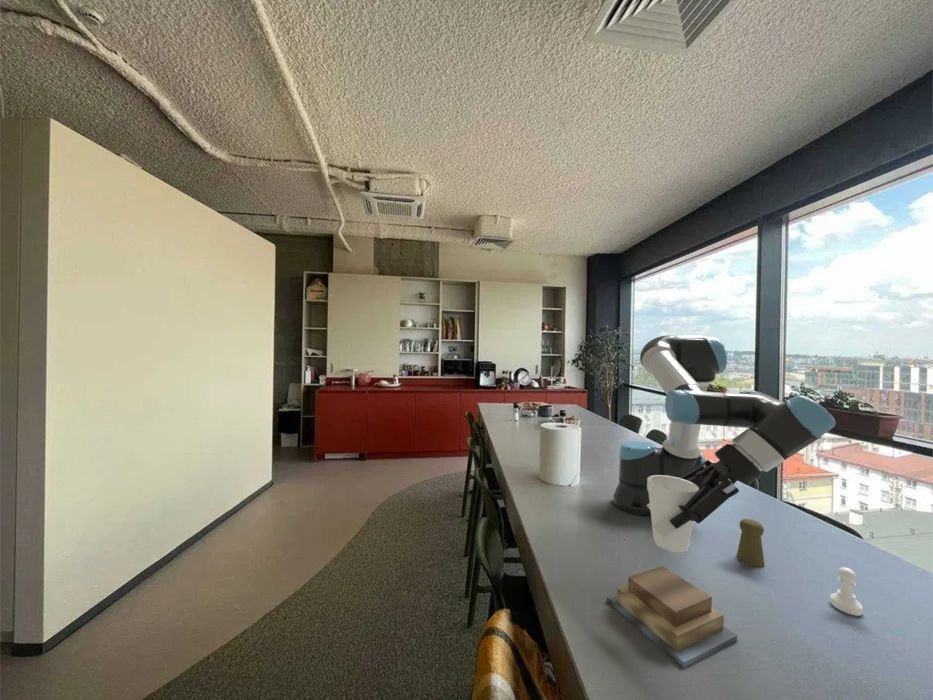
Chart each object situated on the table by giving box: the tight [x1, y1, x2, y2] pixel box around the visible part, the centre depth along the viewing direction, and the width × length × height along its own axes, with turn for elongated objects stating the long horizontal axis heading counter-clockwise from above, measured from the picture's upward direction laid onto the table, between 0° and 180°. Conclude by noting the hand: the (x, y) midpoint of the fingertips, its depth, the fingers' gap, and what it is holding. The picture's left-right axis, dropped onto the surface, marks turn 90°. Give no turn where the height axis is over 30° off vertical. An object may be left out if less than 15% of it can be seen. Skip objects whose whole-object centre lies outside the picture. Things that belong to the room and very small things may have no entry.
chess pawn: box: [829, 566, 864, 617], centre depth 80 cm, size 5×5×9 cm
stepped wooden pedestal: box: [606, 565, 738, 669], centre depth 75 cm, size 18×16×7 cm
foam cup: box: [647, 475, 699, 554], centre depth 74 cm, size 10×9×13 cm
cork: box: [736, 518, 765, 568], centre depth 97 cm, size 6×6×11 cm
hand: (654, 520), depth 76 cm, fingers closed on foam cup, 9 cm apart
